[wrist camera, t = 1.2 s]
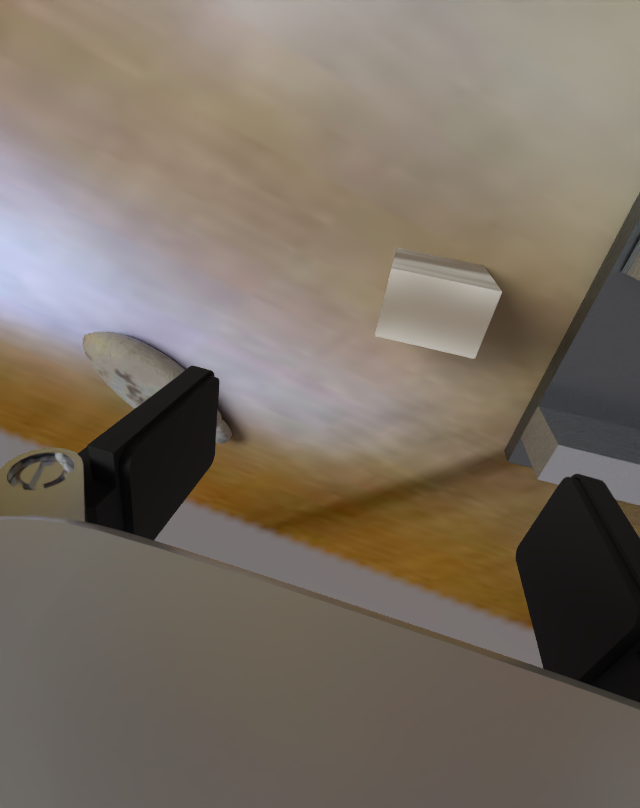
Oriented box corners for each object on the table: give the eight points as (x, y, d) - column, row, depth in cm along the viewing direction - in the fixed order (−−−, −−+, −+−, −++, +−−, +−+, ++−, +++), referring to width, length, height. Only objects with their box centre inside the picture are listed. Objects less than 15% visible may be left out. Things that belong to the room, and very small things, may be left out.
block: (397, 247, 27) (391, 268, 22) (483, 265, 27) (502, 291, 21) (383, 303, 30) (374, 335, 24) (463, 321, 29) (474, 358, 23)
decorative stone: (221, 447, 41) (206, 468, 38) (89, 354, 38) (62, 369, 35) (251, 410, 37) (237, 430, 35) (109, 306, 35) (81, 318, 32)
